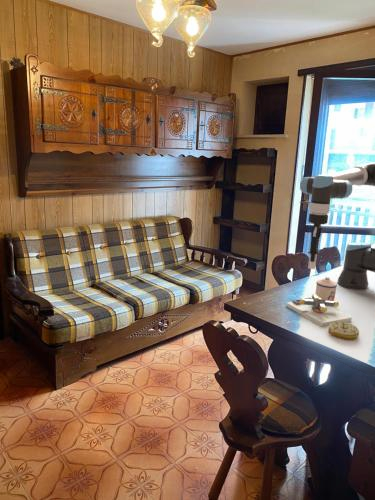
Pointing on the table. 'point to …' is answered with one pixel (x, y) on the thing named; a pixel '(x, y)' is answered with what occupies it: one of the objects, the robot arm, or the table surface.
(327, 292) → the teacup with lid
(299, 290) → the table surface
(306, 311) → the level stand
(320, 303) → the capstan
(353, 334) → the olive yellow engraved disc
